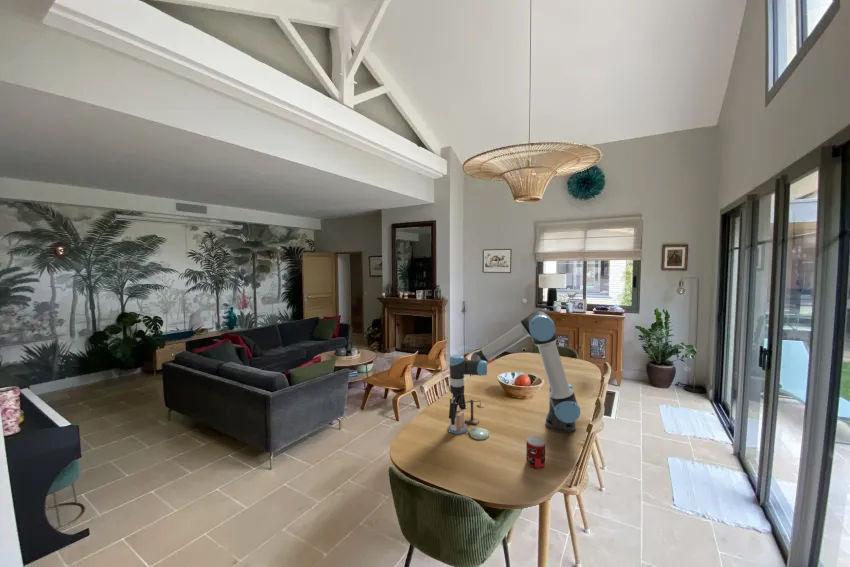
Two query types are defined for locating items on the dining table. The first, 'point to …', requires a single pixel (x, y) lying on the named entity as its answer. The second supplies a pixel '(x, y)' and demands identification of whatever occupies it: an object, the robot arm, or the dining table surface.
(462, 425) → the block
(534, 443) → the canned food
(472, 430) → the saucer sage near
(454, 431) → the saucer slate far
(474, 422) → the balance
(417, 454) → the dining table surface
